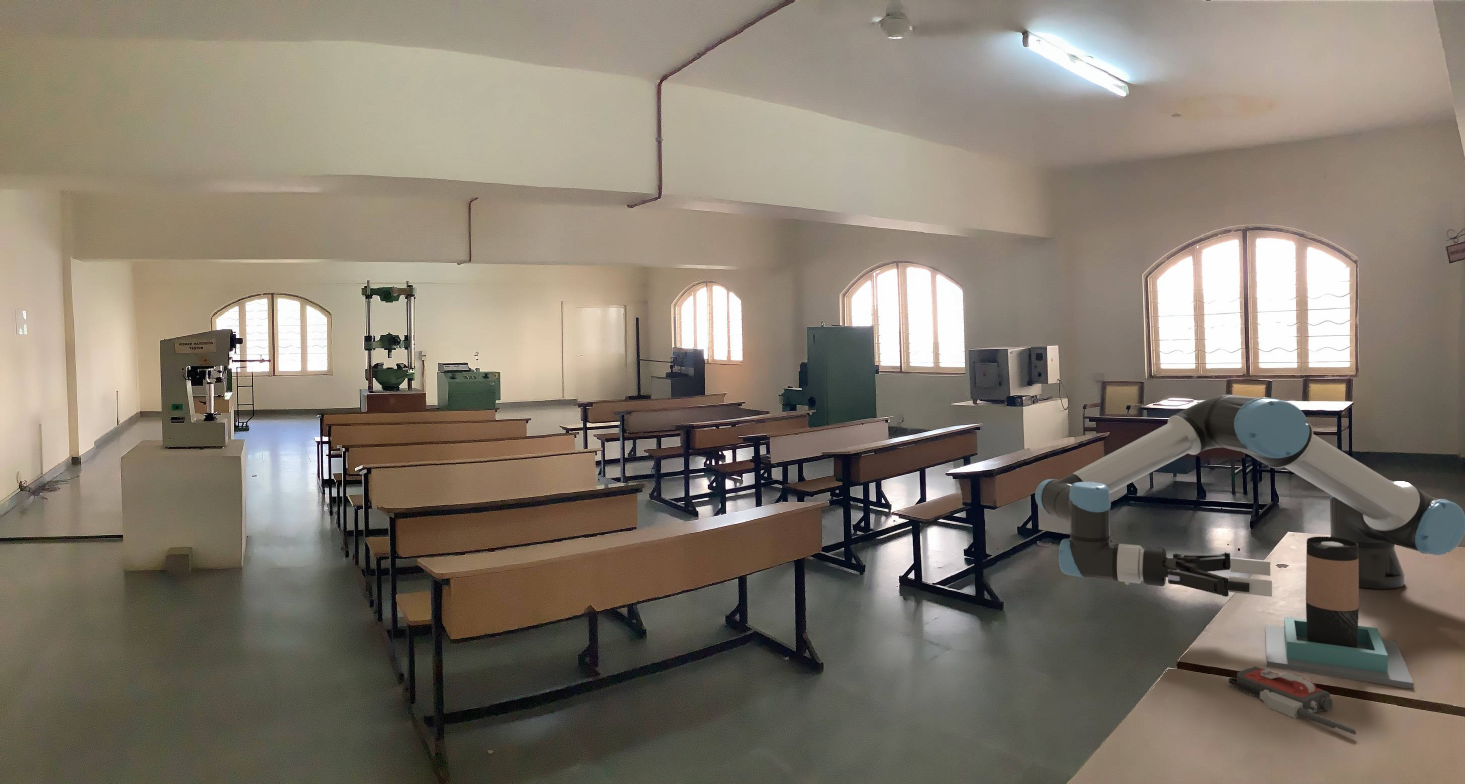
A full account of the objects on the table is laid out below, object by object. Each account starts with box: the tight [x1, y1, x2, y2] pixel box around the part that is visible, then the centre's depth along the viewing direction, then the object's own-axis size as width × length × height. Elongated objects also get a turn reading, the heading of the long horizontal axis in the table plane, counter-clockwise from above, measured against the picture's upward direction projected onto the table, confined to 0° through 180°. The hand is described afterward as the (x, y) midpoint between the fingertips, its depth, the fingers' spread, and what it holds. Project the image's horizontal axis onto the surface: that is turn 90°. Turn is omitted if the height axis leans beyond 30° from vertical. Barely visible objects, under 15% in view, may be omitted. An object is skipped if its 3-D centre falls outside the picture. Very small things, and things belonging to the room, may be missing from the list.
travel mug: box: [1305, 536, 1360, 648], centre depth 145 cm, size 8×8×20 cm
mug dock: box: [1264, 616, 1415, 690], centre depth 146 cm, size 20×20×4 cm
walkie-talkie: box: [1228, 666, 1357, 735], centre depth 128 cm, size 9×4×20 cm
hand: (1271, 578), depth 150 cm, fingers open, 13 cm apart
